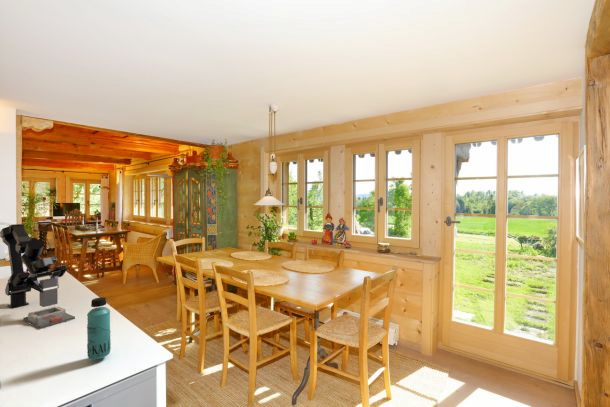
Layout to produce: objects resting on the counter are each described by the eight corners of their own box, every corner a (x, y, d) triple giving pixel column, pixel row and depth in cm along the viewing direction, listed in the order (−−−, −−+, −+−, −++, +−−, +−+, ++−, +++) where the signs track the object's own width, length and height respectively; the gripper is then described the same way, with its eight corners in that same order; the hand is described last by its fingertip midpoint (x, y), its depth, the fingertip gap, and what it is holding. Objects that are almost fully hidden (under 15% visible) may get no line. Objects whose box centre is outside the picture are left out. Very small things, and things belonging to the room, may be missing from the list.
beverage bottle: (94, 354, 104) (93, 295, 104) (115, 353, 104) (114, 294, 104) (82, 365, 97) (81, 302, 97) (104, 364, 98) (103, 301, 98)
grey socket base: (23, 320, 134) (23, 313, 134) (56, 311, 144) (56, 304, 144) (40, 329, 125) (40, 321, 125) (74, 318, 135) (74, 312, 135)
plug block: (39, 305, 135) (39, 280, 135) (53, 302, 139) (53, 277, 139) (43, 307, 133) (43, 281, 133) (57, 303, 137) (57, 279, 137)
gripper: (15, 254, 128) (33, 283, 124) (64, 247, 146) (81, 273, 142) (5, 272, 131) (21, 301, 127) (53, 263, 148) (69, 288, 145)
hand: (50, 290), depth 135 cm, fingers closed on plug block, 5 cm apart
